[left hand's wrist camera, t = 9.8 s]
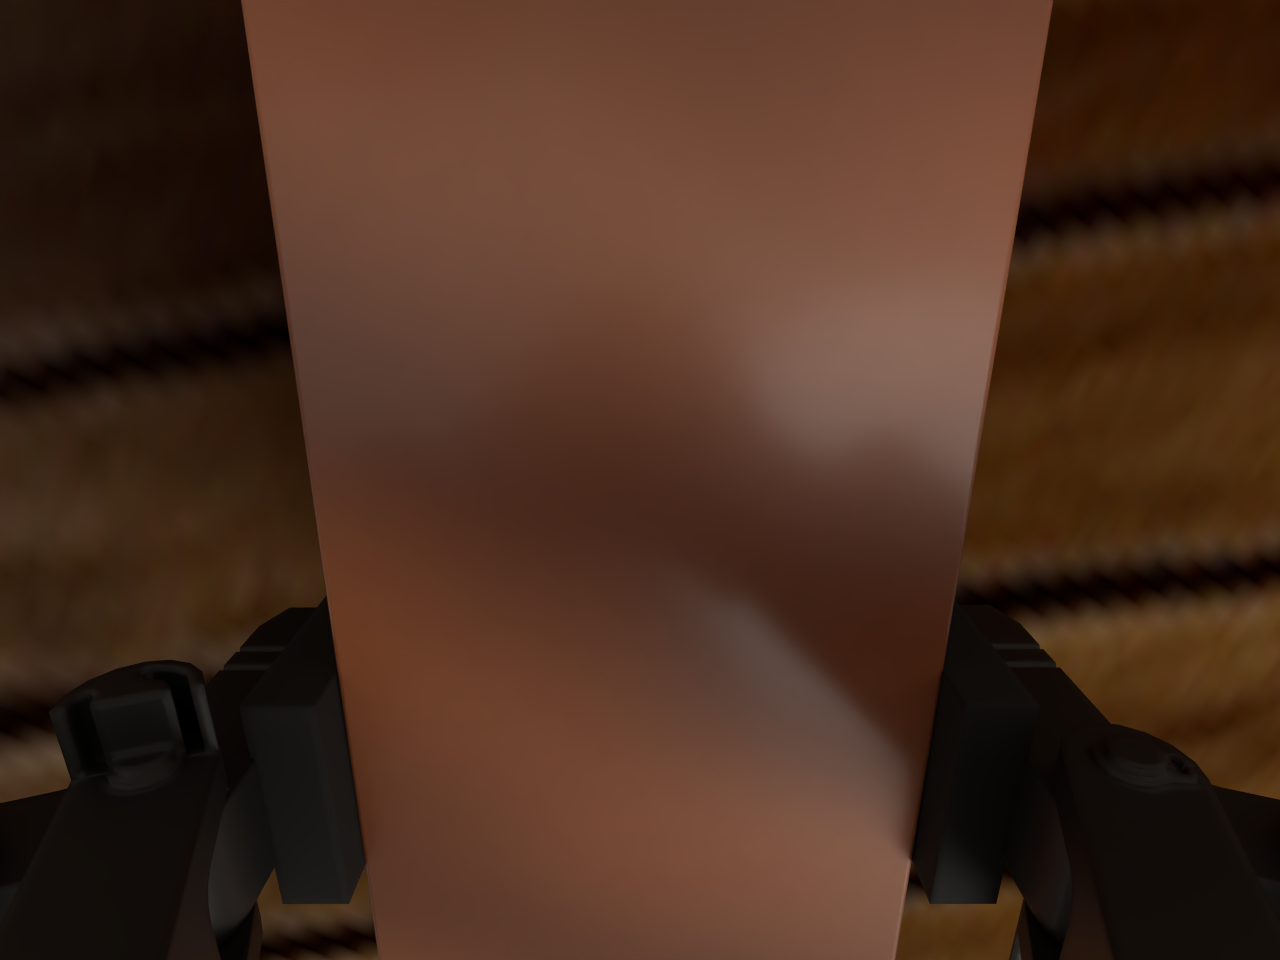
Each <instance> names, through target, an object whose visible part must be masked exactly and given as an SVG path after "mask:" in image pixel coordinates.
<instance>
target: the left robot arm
mask: <svg viewBox="0 0 1280 960" xmlns="http://www.w3.org/2000/svg"><path fill="white" fill-rule="evenodd" d="M49 714H50V717H51V720H52V723H53V726H54V729H55V732H56V735H57V738H58V741H59V745H60V748H61V751H62V754H63V757H64V760H65V763H66V766H67V769H68V772H69V775H70V778H71V782H70V784H69V786H68V788H67V789H64V790H60V791H56V792H51V793H46V794H42V795H37V796H32V797H28V798H23V799H18V800H13V801H9V802H4V803H0V960H259V957H260V949H261V942H262V934H263V931H262V924H261V916H260V912H259V908H258V903H257V898H258V896H259V894H260V892H261V891H262V889H263V887H264V885H265V883H266V882H267V880H268V878H269V876H270V874H271V872H272V871H273V869H274V867H275V870H276V875H277V879H278V884H279V888H280V893H281V897H282V902H283V904H349V902H350V900H351V898H352V895H353V893H354V890H355V888H356V885H357V883H358V881H359V878H360V876H361V873H362V871H363V869H364V866H365V858H364V851H363V844H362V837H361V830H360V823H359V816H358V809H357V802H356V795H355V788H354V781H353V774H352V767H351V760H350V754H349V747H348V740H347V733H346V726H345V719H344V712H343V705H342V698H341V691H340V684H339V677H338V670H337V663H336V656H335V649H334V642H333V635H332V628H331V621H330V614H329V608H328V601H327V596H326V597H325V598H324V600H323V601H322V602H321V603H320V605H319V606H318V607H317V608H289V609H287V610H285V611H284V612H282V613H280V614H279V615H277V616H275V617H274V618H272V619H270V620H269V621H267V622H265V623H264V624H262V625H260V626H259V627H258V628H257V629H256V631H255V632H254V633H253V634H252V635H251V636H250V637H249V638H248V639H247V641H246V642H245V643H244V644H243V645H242V646H241V647H240V652H236V653H235V654H234V655H233V656H232V657H231V658H230V660H229V661H228V662H227V663H226V664H225V665H224V670H220V671H219V672H218V673H217V674H216V675H215V676H214V677H213V678H212V680H211V681H210V682H209V683H208V684H207V685H206V686H205V681H204V677H203V673H202V671H200V670H199V669H198V668H196V667H195V666H194V665H192V664H191V663H186V662H180V661H175V660H162V661H149V662H142V663H138V664H134V665H130V666H126V667H122V668H118V669H115V670H113V671H110V672H108V673H105V674H103V675H101V676H98V677H96V678H93V679H91V680H88V681H87V682H85V683H84V684H82V685H80V686H79V687H77V688H76V689H74V690H72V691H71V692H69V693H68V694H66V695H65V696H63V697H62V699H61V700H60V701H59V702H58V703H57V704H56V705H55V706H54V707H53V708H52V709H51V710H50V711H49ZM912 861H913V863H914V866H915V868H916V871H917V873H918V876H919V878H920V880H921V883H922V885H923V888H924V890H925V892H926V895H927V897H928V900H929V902H930V904H996V902H997V898H998V893H999V889H1000V884H1001V880H1002V875H1003V871H1004V866H1005V865H1006V867H1007V868H1008V870H1009V872H1010V874H1011V876H1012V877H1013V879H1014V881H1015V883H1016V885H1017V886H1018V888H1019V890H1020V892H1021V894H1022V895H1023V897H1024V899H1023V903H1022V908H1021V912H1020V916H1019V920H1018V924H1017V929H1016V933H1015V937H1014V941H1013V945H1012V950H1011V954H1010V958H1009V960H1280V800H1278V799H1273V798H1269V797H1264V796H1259V795H1254V794H1250V793H1245V792H1240V791H1235V790H1231V789H1226V788H1221V787H1218V786H1214V785H1211V783H1210V781H1209V779H1208V778H1207V777H1206V775H1205V774H1204V773H1203V772H1202V770H1201V769H1200V768H1199V767H1198V765H1197V764H1196V763H1195V762H1194V761H1193V760H1192V759H1190V758H1189V757H1188V756H1186V755H1185V754H1183V753H1182V752H1181V751H1179V750H1178V749H1177V748H1175V747H1174V746H1173V745H1171V744H1169V743H1166V742H1164V741H1162V740H1160V739H1158V738H1156V737H1154V736H1152V735H1150V734H1148V733H1145V732H1142V731H1138V730H1135V729H1132V728H1128V727H1125V726H1121V725H1116V724H1110V722H1109V721H1108V720H1107V719H1106V718H1105V717H1104V716H1103V715H1102V714H1101V713H1100V711H1099V710H1098V709H1097V708H1096V707H1095V706H1094V705H1093V704H1092V703H1091V701H1090V700H1089V699H1088V698H1087V697H1086V696H1085V695H1084V694H1083V693H1082V692H1081V690H1080V689H1079V688H1078V687H1077V686H1076V685H1075V684H1074V683H1073V682H1072V680H1071V679H1070V678H1069V677H1068V676H1067V675H1066V674H1065V673H1064V672H1063V671H1062V669H1061V668H1056V663H1055V662H1054V661H1053V659H1052V658H1051V657H1050V656H1049V655H1048V654H1047V653H1046V652H1045V651H1044V650H1043V649H1040V648H1039V644H1038V643H1037V642H1036V641H1035V640H1034V638H1033V637H1032V636H1031V635H1030V634H1029V633H1028V632H1027V631H1026V630H1025V628H1024V627H1023V626H1022V625H1021V624H1020V623H1018V622H1017V621H1015V620H1013V619H1012V618H1010V617H1008V616H1007V615H1005V614H1003V613H1002V612H1000V611H998V610H997V609H995V608H993V607H992V606H990V605H959V603H958V602H957V601H956V600H955V599H954V605H953V611H952V617H951V623H950V629H949V635H948V641H947V647H946V653H945V660H944V666H943V672H942V678H941V684H940V690H939V696H938V702H937V708H936V714H935V720H934V726H933V732H932V738H931V745H930V751H929V757H928V763H927V769H926V775H925V781H924V787H923V793H922V799H921V805H920V811H919V817H918V823H917V829H916V836H915V842H914V848H913V854H912Z"/></svg>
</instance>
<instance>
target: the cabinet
mask: <svg viewBox="0 0 1280 960" xmlns="http://www.w3.org/2000/svg"><path fill="white" fill-rule="evenodd" d="M241 3H242V10H243V17H244V24H245V31H246V38H247V44H248V51H249V58H250V65H251V72H252V79H253V86H254V93H255V100H256V107H257V114H258V121H259V128H260V135H261V142H262V149H263V156H264V163H265V170H266V177H267V183H268V190H269V197H270V204H271V211H272V218H273V225H274V232H275V239H276V246H277V253H278V260H279V267H280V274H281V281H282V288H283V295H284V302H285V309H286V316H287V323H288V329H289V336H290V343H291V350H292V357H293V364H294V371H295V378H296V385H297V392H298V399H299V406H300V413H301V420H302V427H303V434H304V441H305V448H306V455H307V462H308V468H309V475H310V482H311V489H312V496H313V503H314V510H315V517H316V524H317V531H318V538H319V545H320V552H321V559H322V566H323V573H324V580H325V587H326V594H327V601H328V608H329V614H330V621H331V628H332V635H333V642H334V649H335V656H336V663H337V670H338V677H339V684H340V691H341V698H342V705H343V712H344V719H345V726H346V733H347V740H348V747H349V754H350V760H351V767H352V774H353V781H354V788H355V795H356V802H357V809H358V816H359V823H360V830H361V837H362V844H363V851H364V858H365V865H366V872H367V879H368V886H369V893H370V899H371V906H372V913H373V920H374V927H375V934H376V941H377V948H378V955H379V960H895V957H896V951H897V945H898V939H899V933H900V927H901V921H902V914H903V908H904V902H905V896H906V890H907V884H908V878H909V872H910V866H911V860H912V854H913V848H914V842H915V836H916V829H917V823H918V817H919V811H920V805H921V799H922V793H923V787H924V781H925V775H926V769H927V763H928V757H929V751H930V745H931V738H932V732H933V726H934V720H935V714H936V708H937V702H938V696H939V690H940V684H941V678H942V672H943V666H944V660H945V653H946V647H947V641H948V635H949V629H950V623H951V617H952V611H953V605H954V599H955V593H956V587H957V581H958V575H959V569H960V562H961V556H962V550H963V544H964V538H965V532H966V526H967V520H968V514H969V508H970V502H971V496H972V490H973V484H974V477H975V471H976V465H977V459H978V453H979V447H980V441H981V435H982V429H983V423H984V417H985V411H986V405H987V399H988V393H989V386H990V380H991V374H992V368H993V362H994V356H995V350H996V344H997V338H998V332H999V326H1000V320H1001V314H1002V308H1003V301H1004V295H1005V289H1006V283H1007V277H1008V271H1009V265H1010V259H1011V253H1012V247H1013V241H1014V235H1015V229H1016V223H1017V217H1018V210H1019V204H1020V198H1021V192H1022V186H1023V180H1024V174H1025V168H1026V162H1027V156H1028V150H1029V144H1030V138H1031V132H1032V125H1033V119H1034V113H1035V107H1036V101H1037V95H1038V89H1039V83H1040V77H1041V71H1042V65H1043V59H1044V53H1045V47H1046V41H1047V34H1048V28H1049V22H1050V16H1051V10H1052V4H1053V0H241Z"/></svg>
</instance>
